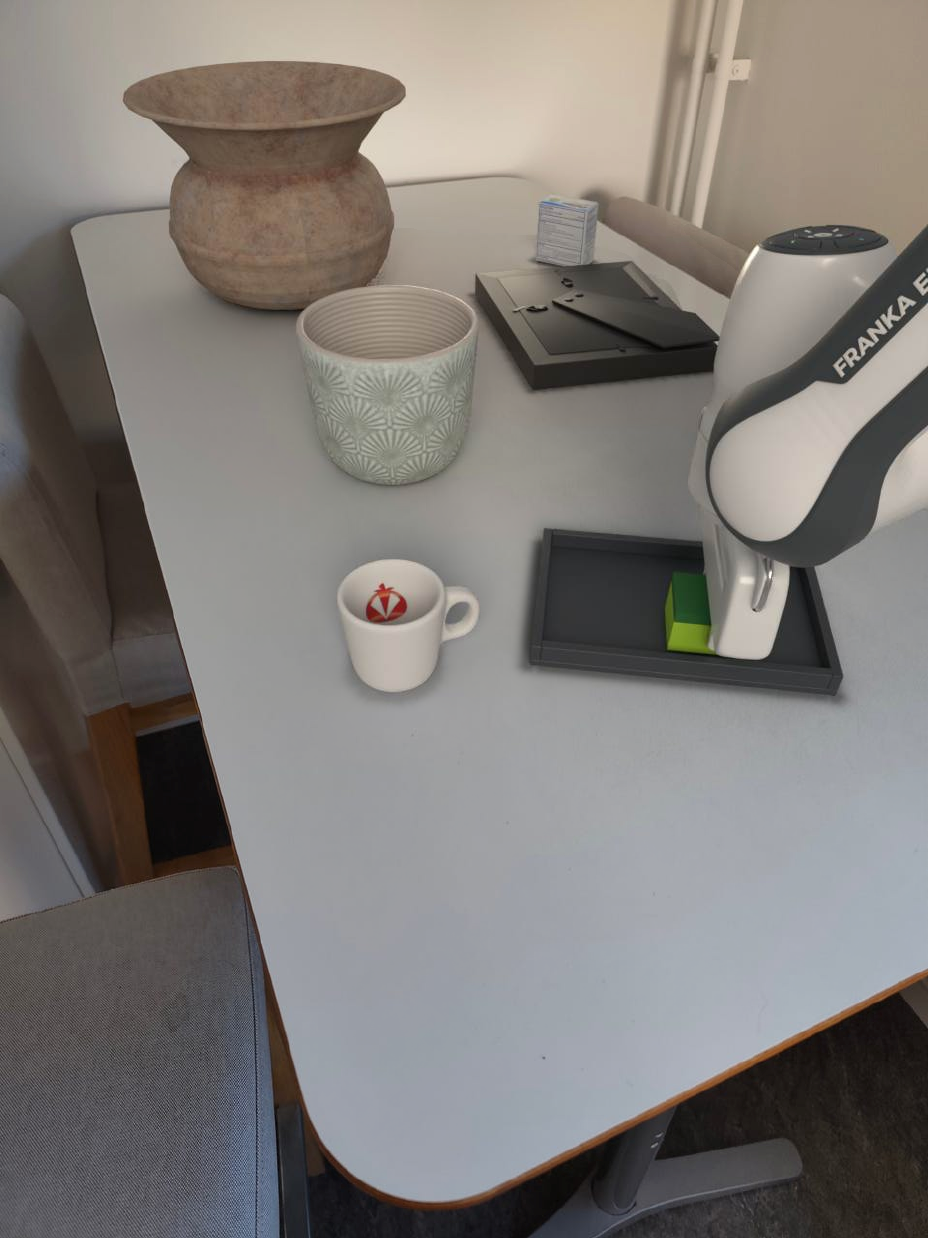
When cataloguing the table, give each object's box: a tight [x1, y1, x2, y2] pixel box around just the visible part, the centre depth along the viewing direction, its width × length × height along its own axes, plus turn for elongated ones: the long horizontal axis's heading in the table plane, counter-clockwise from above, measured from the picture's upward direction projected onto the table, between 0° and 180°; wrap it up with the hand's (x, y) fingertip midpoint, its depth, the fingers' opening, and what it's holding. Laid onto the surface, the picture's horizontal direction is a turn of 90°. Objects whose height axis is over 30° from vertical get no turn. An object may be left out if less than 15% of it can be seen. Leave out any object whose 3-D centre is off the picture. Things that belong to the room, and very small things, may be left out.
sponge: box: [665, 572, 718, 655], centre depth 69 cm, size 7×5×4 cm
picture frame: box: [474, 260, 720, 390], centre depth 113 cm, size 23×4×28 cm
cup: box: [336, 558, 481, 693], centre depth 66 cm, size 11×8×8 cm
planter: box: [295, 284, 480, 486], centre depth 85 cm, size 17×17×15 cm
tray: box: [529, 527, 844, 696], centre depth 73 cm, size 24×16×2 cm, turn 83°
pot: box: [122, 60, 407, 311], centre depth 115 cm, size 34×34×25 cm
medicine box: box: [535, 194, 600, 267], centre depth 129 cm, size 8×4×9 cm, turn 60°
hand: (714, 617), depth 69 cm, fingers closed on sponge, 5 cm apart
